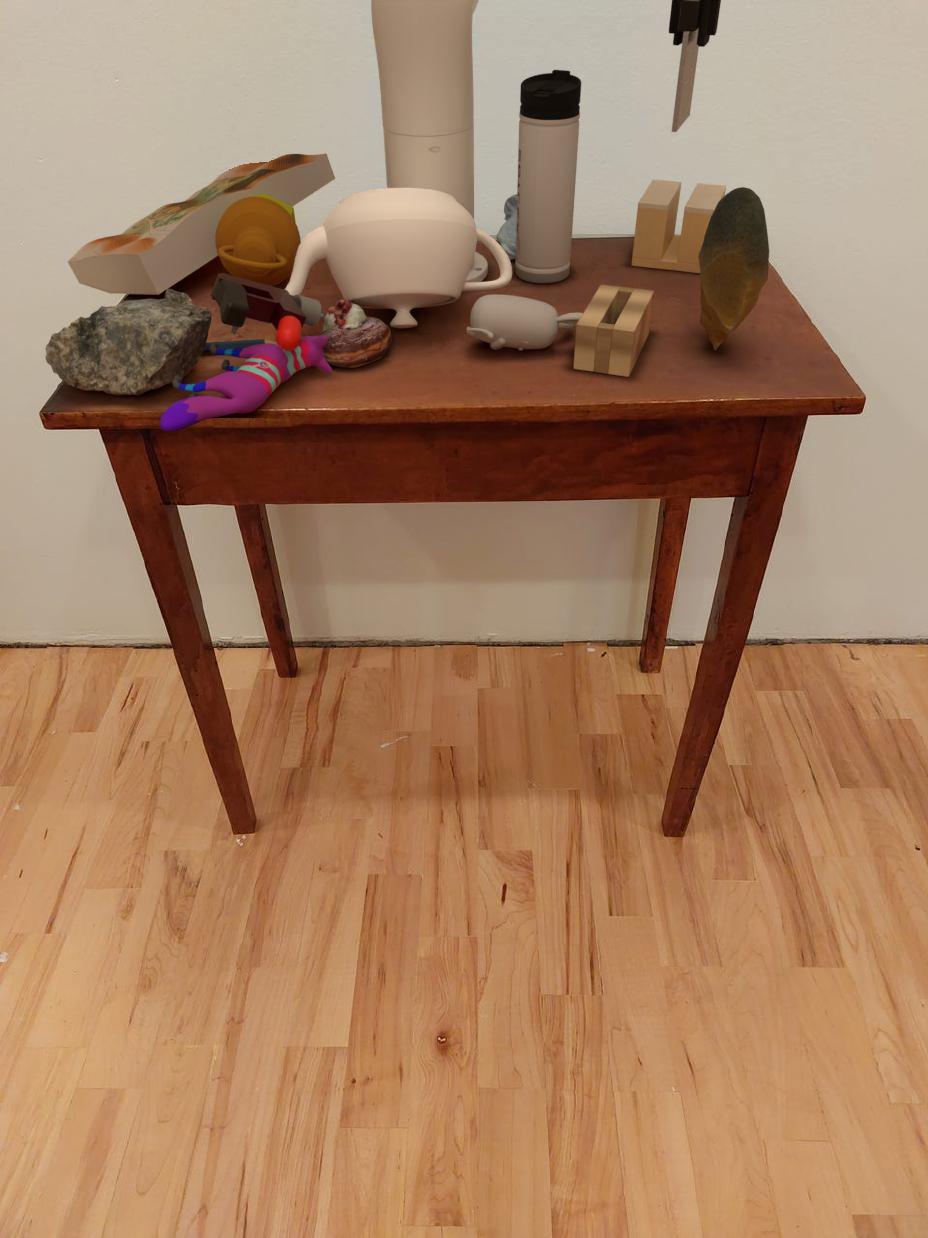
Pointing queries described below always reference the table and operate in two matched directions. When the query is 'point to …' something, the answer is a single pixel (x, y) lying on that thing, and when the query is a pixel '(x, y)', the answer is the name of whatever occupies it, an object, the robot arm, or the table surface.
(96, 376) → the rock
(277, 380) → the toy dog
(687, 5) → the knife
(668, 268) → the u-shaped wooden stand
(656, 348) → the table surface
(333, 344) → the pastry
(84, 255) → the topographic model
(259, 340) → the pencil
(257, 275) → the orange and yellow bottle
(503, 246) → the figurine
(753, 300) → the decorative stone
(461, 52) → the robot arm
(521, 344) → the rabbit figurine
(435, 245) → the teapot
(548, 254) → the travel mug
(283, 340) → the toy gun
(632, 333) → the knife block
